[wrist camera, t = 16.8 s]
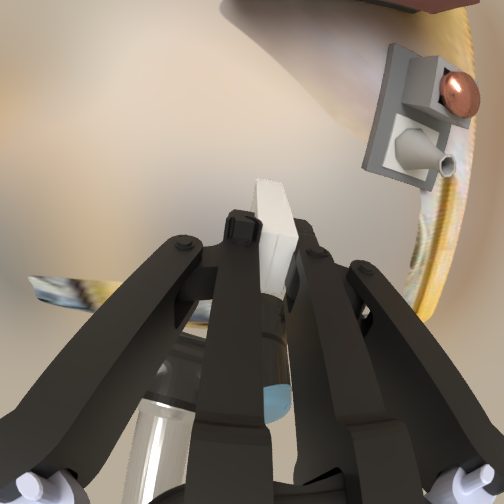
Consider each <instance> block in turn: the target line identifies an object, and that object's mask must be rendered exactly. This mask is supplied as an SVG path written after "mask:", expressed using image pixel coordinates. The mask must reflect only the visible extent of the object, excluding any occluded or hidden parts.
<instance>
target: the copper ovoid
mask: <svg viewBox="0 0 504 504" xmlns="http://www.w3.org/2000/svg"><path fill="white" fill-rule="evenodd" d="M439 90H440V95H439V100H438V102H439V103H443V104H444V106H445V107H446V109H447V110H448V111H449V112H451V113H452V114H454V115H457V116H461V117H465V118H470V117H473V116H474V115H475V114H476V113H477V111H478V109H479V106H480V94H479V89H478V87H477V84H476V83H475V81H474V80H473V78H472V77H471V76H470V75H468V74H467V73H465V72H461V71H449V72H446V73H445V74H444V75H443V76H442V78H441V80H440V86H439Z"/></svg>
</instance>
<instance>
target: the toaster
mask: <svg viewBox="0 0 504 504" xmlns="http://www.w3.org/2000/svg"><path fill="white" fill-rule="evenodd" d="M356 1H362V2H367V3H372V4H377V5H382V6H386V7H390V8H394V9H398V10H401V11H405V12H408V13H416V12H419V11H425V12H428V13H430V14H435V13H439V12H443V11H446V10H451V9H455V8H459V7H464V6H468V5H473V4H477V3H479V2H480V0H356Z"/></svg>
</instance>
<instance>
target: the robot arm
mask: <svg viewBox="0 0 504 504" xmlns="http://www.w3.org/2000/svg"><path fill="white" fill-rule="evenodd" d="M284 285H285V286H286V293H285V296H284V299H283V301H282V300H281V299H279V298H277V297H275V296H272V295H269V294H265V293H261V292H269V293H278V294H282V292H283V289H284ZM210 299H213V300H212V306H211V312H210V318H209V324H208V330H207V337H206V339H205V338H202V337H198V336H195V335H191V334H188V333H185V332H182V330H183V329H184V327H185V325H186V324H187V322H188V321H189V319H190V317H191V316H192V314H193V312H194V311H195V309H196V307H197V306H198V303H199V300H210ZM366 305H367V307H368V308H369V309H370V313H369V314H368V316H367V318H365V317H364V316H363V315H362V313H363V310H364V309H365V307H366ZM287 343H288V351H289V360H290V370H291V381H292V387H291V384H290V373H289V365H288V355H287V348H286V347H287ZM292 391H293V402H294V413H295V425H296V437H297V451H298V456H297V462H296V464H295V468H294V475H293V481H294V485H292V484H286V483H281V482H276V481H273V465H272V464H273V463H272V442H271V434H270V430H269V429H268V428H267V427H266V425H265V424H267V423H271V422H274V421H276V420H278V419H280V418H282V417H283V416H285V415H286V414H287V413H288V411H289V410H290V408H291V392H292ZM137 407H138V409H139V414H138V419H137V423H136V428H135V433H134V438H133V442H132V447H131V451H130V457H129V462H128V467H127V473H126V478H125V485H124V491H123V498H122V504H493V502H494V500H495V498H496V496H497V495H498V494H501V493H502V492H504V435H503V434H501V432H500V431H499V430H498V429H497V428H496V427H495V426H494V425H492V423H491V422H490V420H489V418H488V416H487V415H486V413H485V411H484V410H483V408H482V407H481V405H480V403H479V402H478V400H477V399H476V397H475V395H474V394H473V392H472V391H471V389H470V388H469V386H468V384H467V383H466V382H465V380H464V378H463V377H462V376H461V374H460V373H459V371H458V370H457V368H456V367H455V366H454V364H453V363H452V361H451V360H450V358H449V357H448V356H447V354H446V353H445V351H444V350H443V349H442V347H441V346H440V345H439V343H438V342H437V341H436V339H435V338H434V337H433V335H432V334H431V333H430V331H429V330H428V329H427V327H426V326H425V325H424V324H423V322H422V321H421V320H420V318H419V317H418V316H417V315H416V313H415V312H414V311H413V310H412V308H411V307H410V306H409V305H408V304H407V302H406V301H405V300H404V299H403V297H402V296H401V295H400V294H399V293H398V292H397V290H396V289H395V288H394V287H393V286H392V285H391V283H390V282H389V281H388V280H387V279H386V278H385V276H384V275H383V274H382V273H381V272H380V271H379V270H378V269H377V268H376V267H375V266H374V265H372V264H371V263H370V262H366V261H364V260H355V261H352V262H351V264H350V266H349V268H347V267H344V266H341V265H338V264H336V263H334V260H333V258H332V256H331V254H330V253H329V251H327V250H326V249H324V248H323V247H321V246H319V244H318V241H317V238H316V236H315V233H314V232H313V228H312V226H311V225H310V224H309V223H308V222H307V221H306V220H302V219H296V218H293V216H292V213H291V210H290V207H289V203H288V200H287V197H286V193H285V190H284V187H283V184H282V183H281V182H275V181H270V180H264V179H258V178H257V179H256V184H255V189H254V195H253V201H252V206H251V211H250V212H248V211H242V210H235V209H234V210H233V211H231V212H230V213H229V216H228V217H227V218H226V224H225V230H224V238H223V241H222V242H221V243H220V244H218V245H214V246H208V247H203V244H202V242H201V241H200V240H199V239H198V238H196V237H193V236H188V235H177V236H174V237H171V238H169V239H168V240H167V241H166V242H165V243H164V244H162V245H161V246H160V247H159V248H158V249H157V250H156V251H155V252H154V253H153V254H152V255H151V256H150V257H149V258H148V259H147V260H146V261H145V262H144V263H143V264H142V265H141V266H140V267H139V268H138V269H137V270H136V271H135V272H134V273H133V274H132V275H131V276H130V277H129V278H128V279H127V280H126V281H125V282H124V283H123V284H122V285H121V286H120V287H119V288H118V289H117V290H116V291H115V292H114V293H113V294H112V295H111V296H110V297H109V298H108V299H107V300H106V301H105V302H104V304H103V305H102V306H101V307H100V308H99V309H98V310H97V311H96V312H95V313H94V314H93V315H92V316H91V318H90V319H89V320H88V321H87V322H86V323H85V324H84V325H83V326H82V327H81V329H80V330H79V331H78V332H77V333H76V334H75V335H74V337H73V338H72V339H71V340H70V341H69V342H68V343H67V345H66V346H65V347H64V348H63V349H62V350H61V352H60V353H59V354H58V355H57V356H56V358H55V359H54V360H53V361H52V362H51V364H50V365H49V366H48V367H47V369H46V370H45V371H44V372H43V373H42V375H41V376H40V377H39V378H38V380H37V381H36V383H35V384H34V385H33V386H32V387H31V389H30V390H29V391H28V393H27V394H26V395H25V396H24V398H23V399H22V401H21V402H20V403H19V405H18V406H17V407H16V409H15V410H13V411H12V412H10V413H9V414H7V415H6V416H4V417H3V418H1V419H0V504H90V501H89V498H88V496H87V493H86V492H85V491H84V488H85V487H86V486H87V485H88V484H89V483H90V482H91V481H92V480H93V479H94V478H95V476H96V475H97V474H98V473H99V471H100V470H101V468H102V467H103V465H104V464H105V462H106V461H107V459H108V457H109V455H110V453H111V452H112V450H113V448H114V446H115V445H116V443H117V441H118V439H119V438H120V436H121V434H122V432H123V430H124V429H125V427H126V425H127V424H128V422H129V420H130V418H131V417H132V415H133V413H134V411H135V410H136V408H137ZM191 430H192V432H191ZM190 435H191V440H190ZM189 441H190V448H189V457H188V465H187V474H186V484H182V478H183V473H184V468H185V461H186V457H187V451H188V445H189ZM181 484H182V485H181ZM422 488H423V489H424V490H425V491H426V492H427V493H426V494H425V495H423V490H422Z"/></svg>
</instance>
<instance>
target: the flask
mask: <svg viewBox="0 0 504 504" xmlns="http://www.w3.org/2000/svg"><path fill="white" fill-rule="evenodd" d="M395 154H396V158H397V160H398V161H399V163H400V164H401V165H402V167H403V168H404V170H417V169H430V170H435V171H437V172H439V173H440V174H441V176H442V177H451V176H452V175H453V174H454V173H455V172H456V161H455V159H454V157H453V155H446V154H444V153H443V152H441V151H440V150H439V149H438V148H437V147H436V146H435V145H434V144H433V142H432V141H431V140H430V139H429V138H428V136H427V135H426V134H425V132H424V131H423V130H422V129H421V128H407V129H405V130H404V131H403V132H402V133H401V134H400V135H399V136H398V137H397V138H396V139H395Z"/></svg>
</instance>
